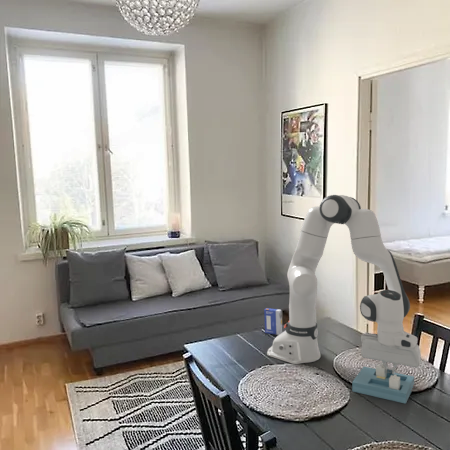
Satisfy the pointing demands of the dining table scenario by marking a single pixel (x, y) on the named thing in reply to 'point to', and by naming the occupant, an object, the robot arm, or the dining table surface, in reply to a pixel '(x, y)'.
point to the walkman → (273, 321)
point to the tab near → (394, 382)
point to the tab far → (381, 370)
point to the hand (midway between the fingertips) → (390, 373)
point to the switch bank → (382, 385)
